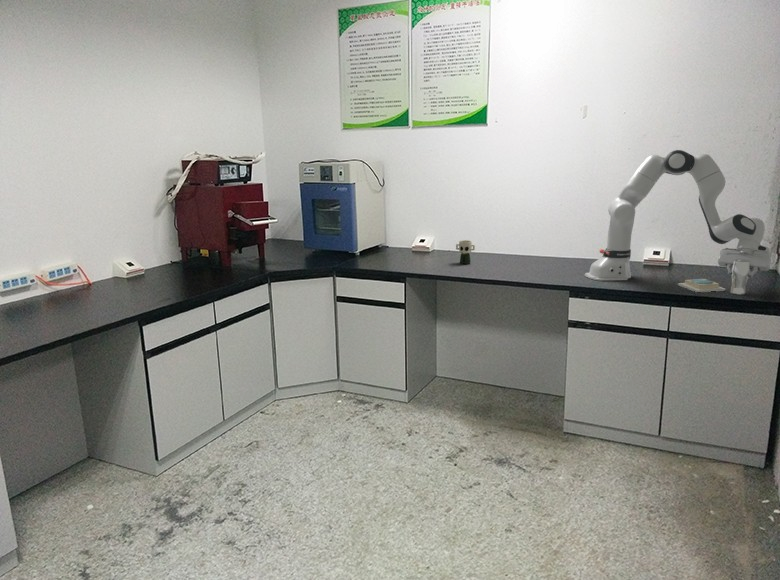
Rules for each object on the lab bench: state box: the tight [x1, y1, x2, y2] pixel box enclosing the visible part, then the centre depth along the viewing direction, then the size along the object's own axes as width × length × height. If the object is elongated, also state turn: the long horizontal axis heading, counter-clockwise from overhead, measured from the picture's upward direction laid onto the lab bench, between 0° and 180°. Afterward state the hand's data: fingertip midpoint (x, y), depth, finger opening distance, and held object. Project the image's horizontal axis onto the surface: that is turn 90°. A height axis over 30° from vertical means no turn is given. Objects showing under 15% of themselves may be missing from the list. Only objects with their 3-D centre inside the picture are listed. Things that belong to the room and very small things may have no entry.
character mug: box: [455, 239, 476, 265], centre depth 329 cm, size 11×7×13 cm, turn 69°
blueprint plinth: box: [677, 278, 726, 293], centre depth 267 cm, size 14×14×3 cm
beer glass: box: [729, 259, 751, 296], centre depth 256 cm, size 7×7×15 cm
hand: (739, 275), depth 255 cm, fingers closed on beer glass, 7 cm apart
